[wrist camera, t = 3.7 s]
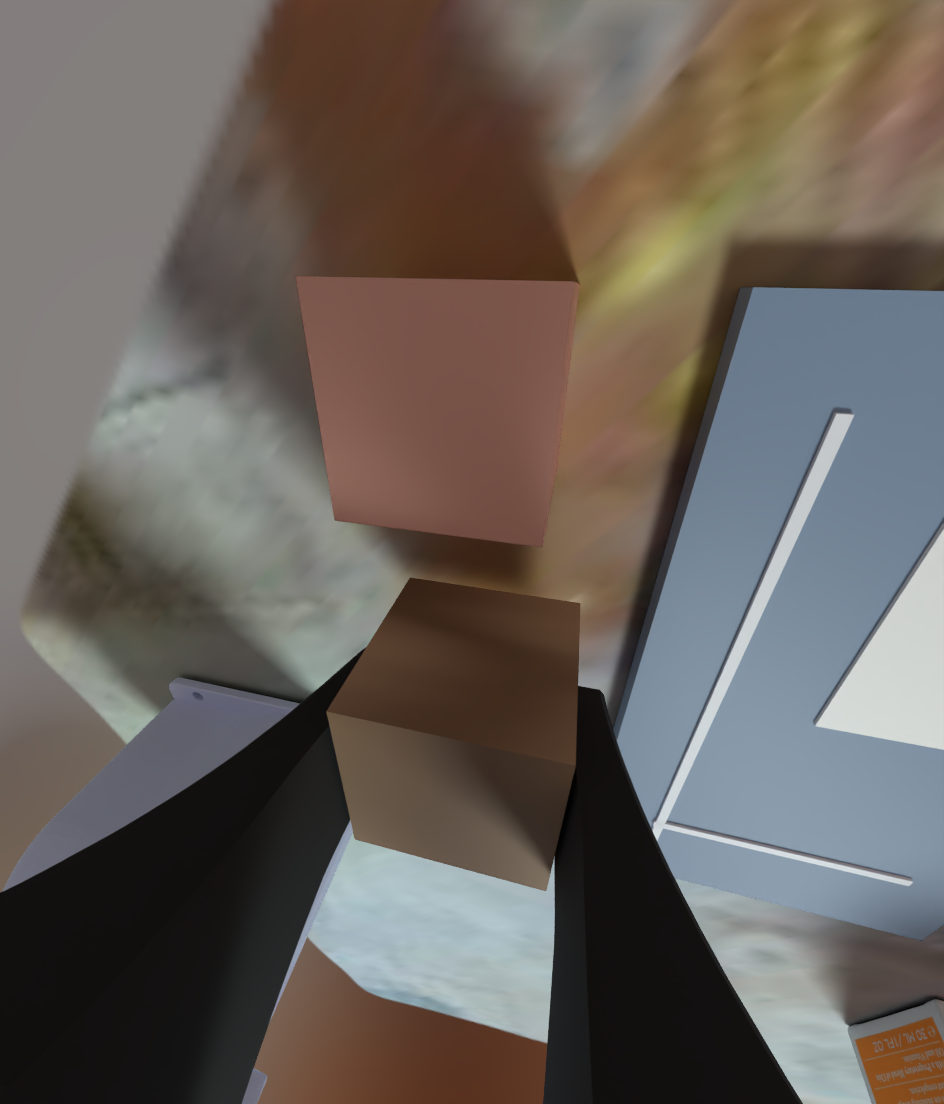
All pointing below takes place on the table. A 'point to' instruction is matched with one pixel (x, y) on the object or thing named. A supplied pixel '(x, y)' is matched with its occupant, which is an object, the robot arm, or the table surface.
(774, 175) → the table surface
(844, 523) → the board
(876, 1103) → the skincare box
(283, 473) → the table surface
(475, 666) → the walnut block
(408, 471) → the brick red block
